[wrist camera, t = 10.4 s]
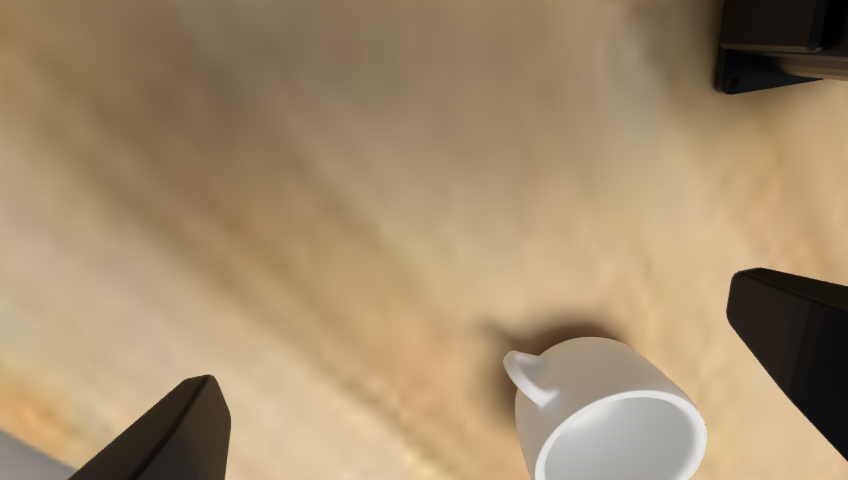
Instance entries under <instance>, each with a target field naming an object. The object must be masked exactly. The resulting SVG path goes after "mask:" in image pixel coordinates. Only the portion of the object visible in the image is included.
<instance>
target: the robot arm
mask: <svg viewBox="0 0 848 480" xmlns="http://www.w3.org/2000/svg"><path fill="white" fill-rule="evenodd" d="M731 76H732V81H731V84H730V85H729V86H728V85H727V82H728V79H729V78H730V77H731ZM823 79H833V80H842V81H848V0H725V1H724V9H723V17H722V25H721V33H720V43H719V51H718V59H717V67H716V75H715V89H716V90H717V91H718V92H719V93H722V94H730V95H732V94H738V93H744V92H750V91H756V90H762V89H769V88H775V87H781V86H787V85H793V84H799V83H805V82H811V81H817V80H823ZM726 314H727V319H728V321H729V323H730V325H731V326H732V328H733V329H734V330H735V331H736V333H737V334H738V335H739V337H740V338H741V339H742V340H743V342H744V343H745V344H746V346H747V347H748V348H749V349H750V351H751V352H752V353H753V354H754V356H755V357H756V358H757V360H758V361H759V362H760V363H761V365H762V366H763V367H764V369H765V370H766V371H767V372H768V374H769V375H770V376H771V377H772V379H773V380H774V381H775V383H776V384H777V385H778V386H779V388H780V389H781V390H782V391H783V392H784V394H785V395H786V396H787V397H788V398H789V399H790V401H791V402H792V403H793V404H794V405H795V406H796V407H797V408H798V409H799V410H800V412H801V413H802V414H803V415H804V416H805V417H806V418H807V419H808V420H809V421H810V422H811V423H812V424H813V425H814V426H815V428H816V429H817V430H818V431H819V432H820V433H821V434H822V435H823V436H824V437H825V438H826V439H827V440H828V441H829V442H830V444H831V445H832V446H833V447H834V448H835V449H836V450H837V451H838V452H839V453H840V454H841V455H842V456H843V457H844V458H845V459H846V461H847V462H848V286H844V285H839V284H835V283H830V282H825V281H821V280H816V279H812V278H807V277H803V276H798V275H793V274H789V273H784V272H780V271H775V270H771V269H766V268H752V269H747V270H742V271H738V272H737V273H735V274H734V275H733V277H732V280H731V285H730V291H729V297H728V303H727V309H726ZM230 431H231V416H230V412H229V409H228V407H227V404H226V402H225V399H224V397H223V394H222V392H221V389H220V387H219V384H218V382H217V380H216V379H215V377H214V376H212V375H209V374H208V375H202V376H197V377H192V378H188V379H185V380H184V381H182V382H181V383H180V384H179V385H178V386H176V387H175V388H174V389H173V390H172V391H171V392H169V393H168V394H167V395H166V396H165V397H164V398H162V399H161V400H160V401H159V402H158V403H156V404H155V405H154V406H153V407H152V408H151V409H149V410H148V411H147V412H146V413H145V414H144V415H142V416H141V417H140V418H139V419H138V420H137V421H135V422H134V423H133V424H132V425H131V426H130V427H128V428H127V429H126V430H125V431H124V432H122V433H121V434H120V435H119V436H118V437H117V438H115V439H114V440H113V441H112V442H111V443H110V444H108V445H107V446H106V447H105V448H104V449H103V450H101V451H100V452H99V453H98V454H97V455H96V456H94V457H93V458H92V459H91V460H90V461H88V462H87V463H86V464H85V465H84V466H83V467H81V468H80V469H79V470H78V471H77V472H76V473H74V474H73V475H72V476H71V477H70V478H69V479H68V480H225V473H226V464H227V456H228V448H229V439H230Z"/></svg>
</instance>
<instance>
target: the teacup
mask: <svg viewBox="0 0 848 480" xmlns="http://www.w3.org/2000/svg"><path fill="white" fill-rule="evenodd" d="M503 365H504V368H505V370H506V372H507V374H508V375H509V377H510V378H511V380H512V381H513V382H514V383H515V385H516V386H517V387H518V389H517V393H516V398H515V420H516V429H517V434H518V438H519V442H520V446H521V449H522V453H523V456H524V459H525V462H526V466H527V469H528V472H529V475H530V477H531V480H689V479H690V478H691V476H692V475H693V474H694V472H695V471H696V469H697V468H698V466H699V464H700V462H701V460H702V458H703V455H704V452H705V449H706V443H707V431H706V426H705V423H704V420H703V418H702V416H701V414H700V412H699V410H698V409H697V407H696V405H695V404H694V402H693V401H692V400H691V399H690V398H689V396H688V395H687V394H686V393H685V392H684V391H682V390H681V389H680V388H679V387H678V386H677V385H676V384H675V383H674V382H673V381H672V380H671V379H669V378H668V377H667V376H666V375H665V374H664V373H663V372H662V371H661V370H659V369H658V368H657V367H656V366H655V365H654V364H652V363H651V362H650V361H649V360H647V359H646V358H645V357H643V356H642V355H641V354H639V353H638V352H637V351H636V350H634V349H633V348H631V347H630V346H628V345H626V344H624V343H622V342H619V341H616V340H612V339H608V338H602V337H580V338H574V339H570V340H567V341H564V342H561V343H559V344H556V345H554V346H553V347H551V348H549V349H548V350H546V351H545V352H543V353H542V354H541V355H540V356H536V355H531V354H527V353H523V352H519V351H511V352H509V353H508V354H507V355H506V356H505V357H504V359H503ZM521 369H522V370H523V371H522V370H521Z"/></svg>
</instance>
